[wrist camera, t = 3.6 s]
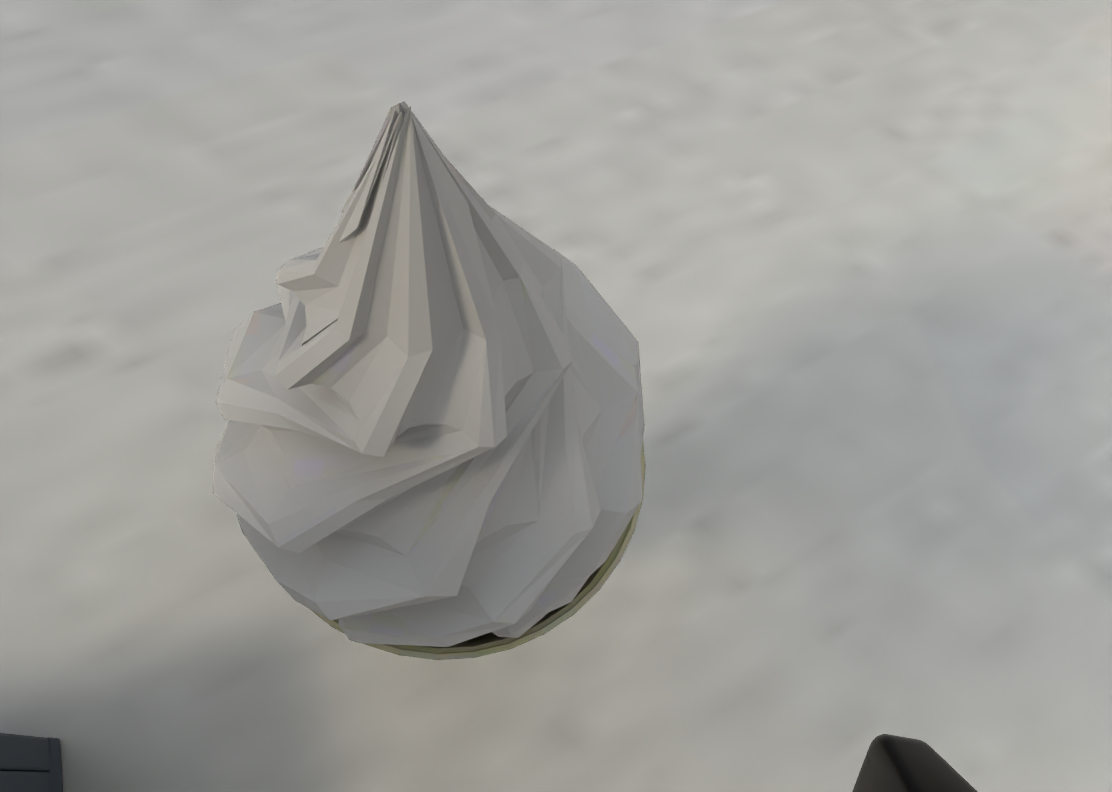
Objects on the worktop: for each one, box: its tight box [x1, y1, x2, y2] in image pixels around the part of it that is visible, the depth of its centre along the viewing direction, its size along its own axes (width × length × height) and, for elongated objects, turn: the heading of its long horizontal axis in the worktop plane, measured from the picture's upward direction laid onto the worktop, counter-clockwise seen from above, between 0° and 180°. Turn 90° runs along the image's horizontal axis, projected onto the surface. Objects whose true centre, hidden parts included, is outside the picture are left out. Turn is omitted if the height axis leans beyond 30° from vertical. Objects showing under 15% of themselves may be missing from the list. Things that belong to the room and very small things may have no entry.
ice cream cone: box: [213, 102, 645, 660], centre depth 13 cm, size 5×5×15 cm
